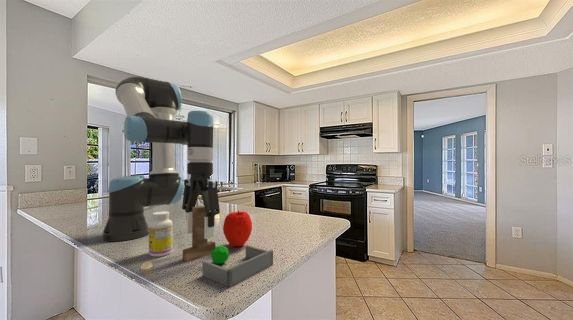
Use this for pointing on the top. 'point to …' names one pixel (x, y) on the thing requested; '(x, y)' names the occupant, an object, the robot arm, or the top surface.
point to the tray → (239, 267)
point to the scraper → (198, 236)
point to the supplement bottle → (160, 235)
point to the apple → (237, 228)
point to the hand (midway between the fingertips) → (199, 235)
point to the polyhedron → (220, 254)
